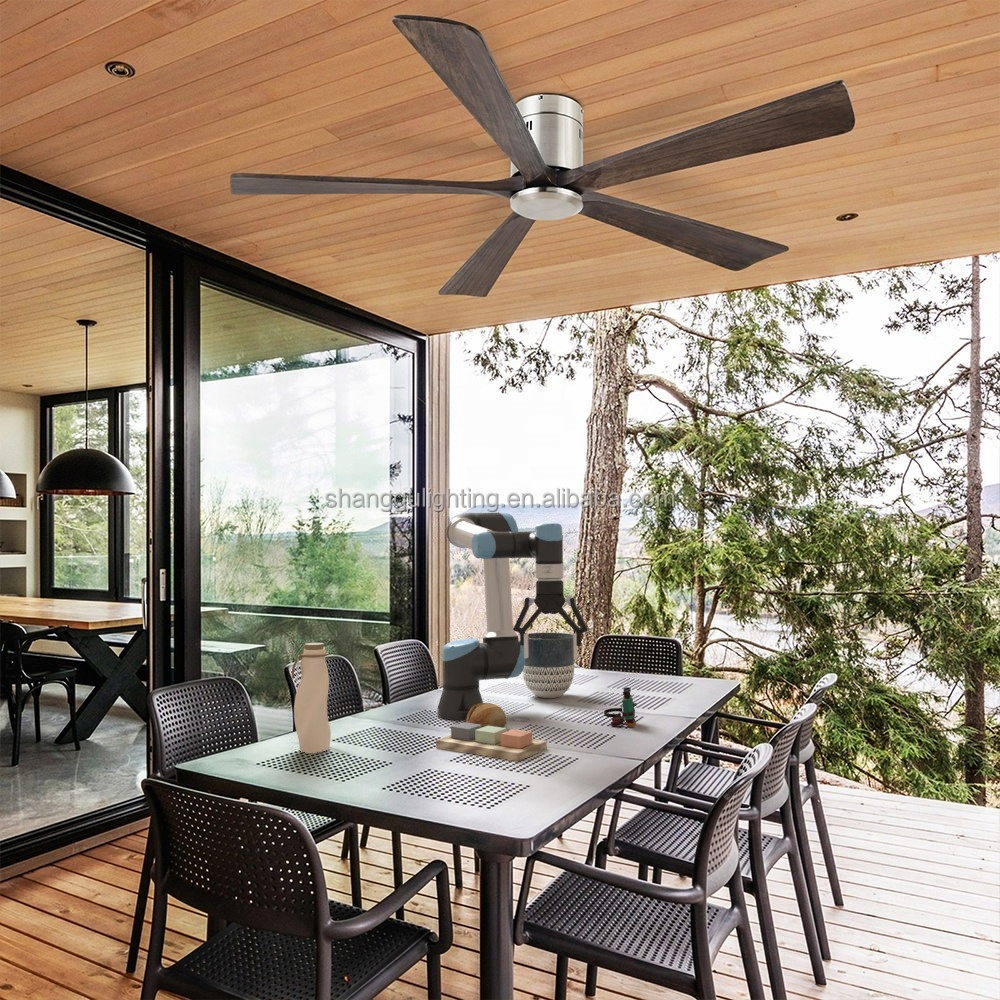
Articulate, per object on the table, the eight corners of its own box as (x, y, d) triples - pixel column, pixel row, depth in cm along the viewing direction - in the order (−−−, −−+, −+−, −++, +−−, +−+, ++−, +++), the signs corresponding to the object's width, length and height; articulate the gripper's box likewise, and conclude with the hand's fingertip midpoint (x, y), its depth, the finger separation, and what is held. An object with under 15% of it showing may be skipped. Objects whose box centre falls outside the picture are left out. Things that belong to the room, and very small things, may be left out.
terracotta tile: (500, 745, 206) (500, 733, 207) (513, 740, 212) (512, 729, 212) (520, 748, 203) (520, 736, 203) (532, 743, 208) (532, 731, 208)
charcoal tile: (451, 737, 215) (451, 726, 215) (464, 733, 220) (464, 722, 220) (469, 740, 212) (469, 729, 212) (482, 735, 217) (481, 724, 217)
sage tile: (475, 741, 211) (475, 730, 211) (488, 736, 216) (488, 725, 216) (494, 744, 208) (494, 732, 208) (506, 739, 213) (506, 728, 213)
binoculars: (602, 688, 243) (635, 686, 241) (606, 723, 242) (639, 721, 240) (599, 694, 234) (634, 691, 232) (604, 730, 233) (638, 728, 231)
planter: (585, 695, 283) (584, 634, 284) (560, 704, 267) (558, 640, 268) (538, 690, 293) (537, 631, 295) (510, 699, 277) (509, 637, 278)
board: (436, 747, 213) (436, 740, 213) (466, 736, 225) (466, 729, 225) (518, 761, 199) (518, 753, 199) (546, 748, 210) (546, 741, 210)
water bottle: (296, 756, 206) (296, 647, 207) (288, 748, 213) (288, 643, 215) (335, 751, 210) (335, 644, 212) (326, 744, 218) (326, 641, 220)
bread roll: (457, 735, 227) (456, 706, 228) (486, 724, 240) (486, 697, 240) (484, 739, 222) (484, 710, 222) (513, 728, 234) (513, 701, 235)
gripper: (502, 580, 217) (503, 659, 216) (594, 580, 212) (595, 660, 211) (507, 579, 225) (508, 655, 223) (596, 578, 220) (598, 656, 218)
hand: (550, 658), depth 217 cm, fingers open, 13 cm apart
